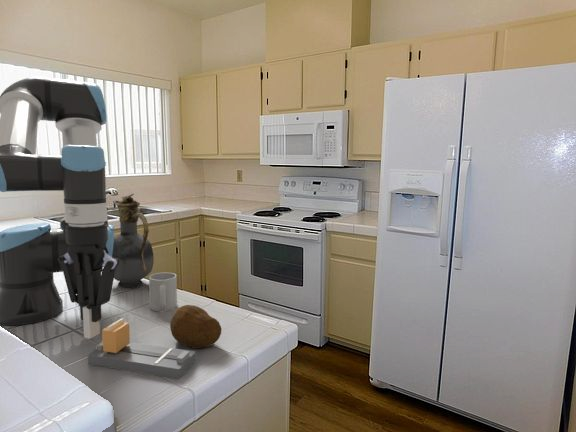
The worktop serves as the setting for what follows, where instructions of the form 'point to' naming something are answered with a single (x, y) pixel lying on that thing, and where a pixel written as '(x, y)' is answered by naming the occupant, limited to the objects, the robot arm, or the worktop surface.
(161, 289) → the cup
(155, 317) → the worktop surface
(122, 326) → the slider
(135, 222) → the pitcher
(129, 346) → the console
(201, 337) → the potato
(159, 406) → the worktop surface
